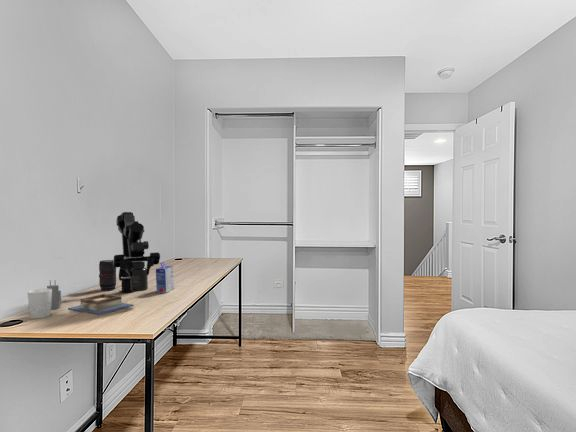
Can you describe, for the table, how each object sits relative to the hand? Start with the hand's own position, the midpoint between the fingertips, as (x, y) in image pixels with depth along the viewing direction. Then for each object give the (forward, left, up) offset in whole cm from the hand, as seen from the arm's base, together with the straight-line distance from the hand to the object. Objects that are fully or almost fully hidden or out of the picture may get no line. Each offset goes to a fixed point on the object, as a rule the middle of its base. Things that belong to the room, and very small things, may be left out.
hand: (139, 275), depth 159 cm
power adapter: (-30, -19, -13) cm, 38 cm away
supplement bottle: (-1, +1, -7) cm, 7 cm away
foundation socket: (-13, -9, -13) cm, 20 cm away
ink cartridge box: (-13, +27, -13) cm, 33 cm away
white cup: (-23, -28, -13) cm, 38 cm away
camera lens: (-43, +17, -13) cm, 48 cm away
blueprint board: (-13, -9, -13) cm, 20 cm away
